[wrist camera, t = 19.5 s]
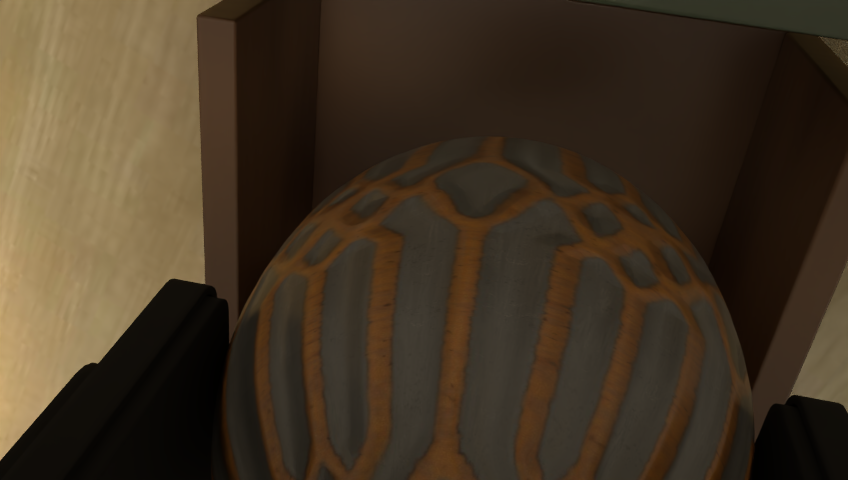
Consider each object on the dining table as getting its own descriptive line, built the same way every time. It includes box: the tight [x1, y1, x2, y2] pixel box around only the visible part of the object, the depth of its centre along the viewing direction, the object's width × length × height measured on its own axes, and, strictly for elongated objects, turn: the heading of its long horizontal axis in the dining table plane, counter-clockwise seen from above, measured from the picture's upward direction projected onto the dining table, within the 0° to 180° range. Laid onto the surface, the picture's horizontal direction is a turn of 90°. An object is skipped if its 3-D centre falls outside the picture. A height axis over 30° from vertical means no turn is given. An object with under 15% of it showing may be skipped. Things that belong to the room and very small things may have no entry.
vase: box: [211, 136, 755, 480], centre depth 10 cm, size 7×7×9 cm
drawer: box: [197, 0, 848, 442], centre depth 19 cm, size 22×14×7 cm, turn 174°
